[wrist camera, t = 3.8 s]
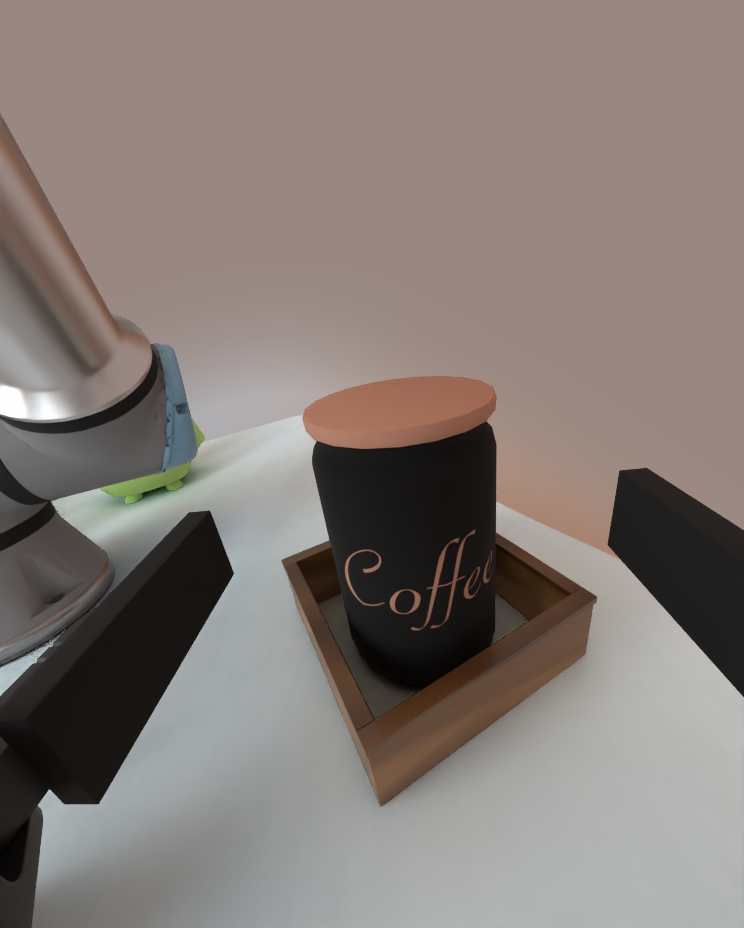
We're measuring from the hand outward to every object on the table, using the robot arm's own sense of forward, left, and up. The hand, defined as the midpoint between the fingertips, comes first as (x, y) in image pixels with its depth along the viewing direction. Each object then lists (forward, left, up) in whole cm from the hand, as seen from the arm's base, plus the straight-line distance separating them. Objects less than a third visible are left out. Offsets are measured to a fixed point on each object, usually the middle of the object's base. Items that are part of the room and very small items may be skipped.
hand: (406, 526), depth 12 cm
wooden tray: (-8, +5, -16) cm, 19 cm away
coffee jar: (-8, +5, -16) cm, 19 cm away
